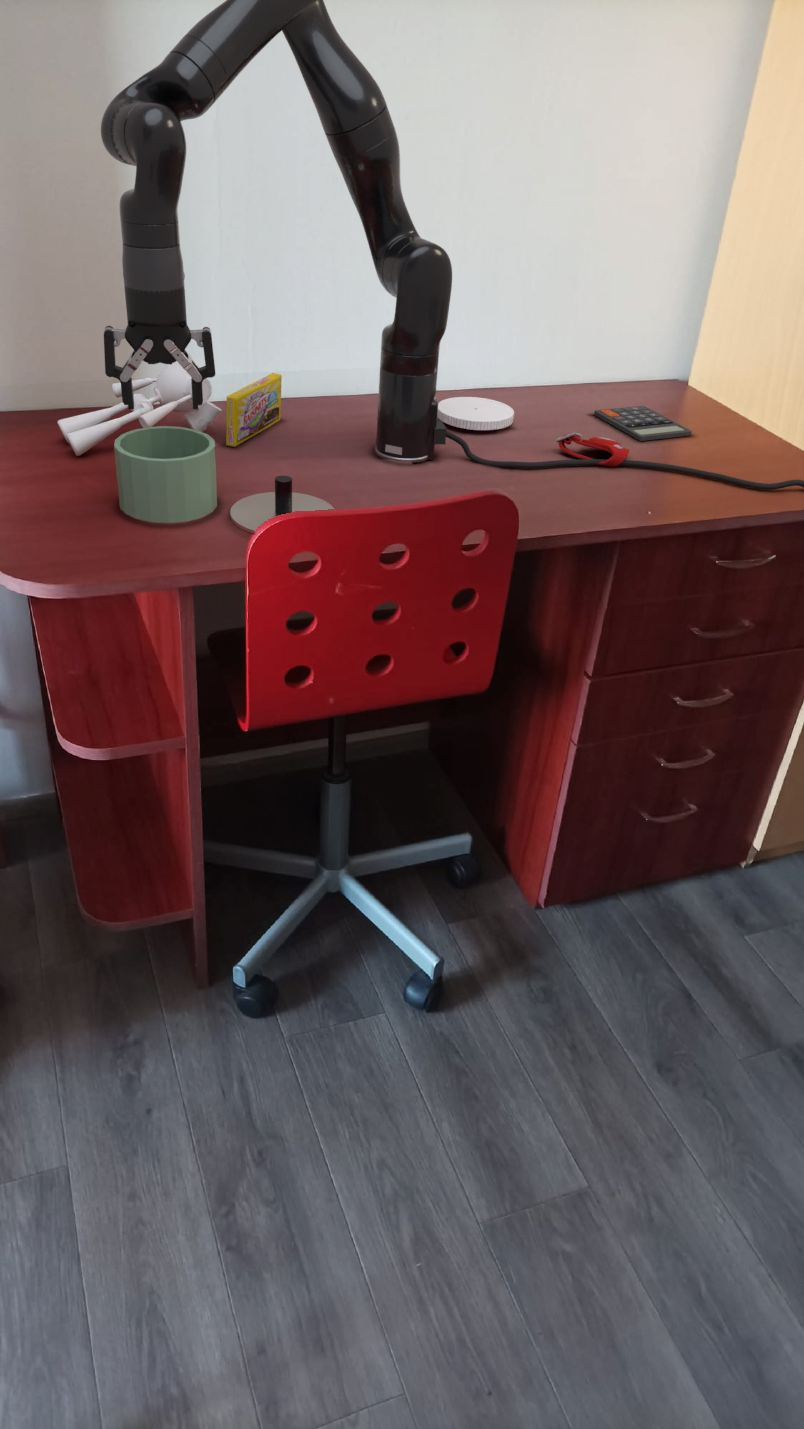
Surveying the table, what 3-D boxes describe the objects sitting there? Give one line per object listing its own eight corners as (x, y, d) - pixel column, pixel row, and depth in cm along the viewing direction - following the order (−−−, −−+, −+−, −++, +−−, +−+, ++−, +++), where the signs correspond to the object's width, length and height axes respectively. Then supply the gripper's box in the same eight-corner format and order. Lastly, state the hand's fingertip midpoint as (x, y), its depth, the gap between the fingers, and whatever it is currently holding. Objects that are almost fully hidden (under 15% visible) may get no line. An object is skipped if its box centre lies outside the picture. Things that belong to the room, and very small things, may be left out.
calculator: (643, 404, 201) (692, 430, 190) (643, 409, 202) (691, 435, 191) (594, 409, 197) (641, 435, 186) (593, 414, 197) (640, 441, 186)
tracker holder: (613, 439, 183) (644, 445, 174) (606, 465, 184) (637, 472, 175) (554, 426, 178) (583, 432, 169) (547, 453, 179) (577, 459, 170)
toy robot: (103, 505, 163) (245, 440, 169) (69, 435, 155) (219, 369, 160) (75, 464, 177) (207, 405, 182) (42, 397, 168) (181, 337, 174)
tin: (215, 488, 156) (213, 426, 151) (218, 526, 145) (216, 460, 140) (122, 488, 154) (116, 425, 148) (118, 527, 143) (111, 461, 137)
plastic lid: (525, 422, 191) (527, 408, 190) (489, 441, 181) (491, 427, 180) (459, 405, 197) (461, 391, 196) (421, 423, 187) (422, 409, 186)
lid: (329, 498, 156) (330, 459, 152) (342, 541, 144) (343, 499, 140) (228, 499, 153) (227, 459, 150) (232, 543, 141) (231, 500, 137)
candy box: (236, 448, 170) (235, 398, 166) (225, 446, 171) (223, 396, 166) (282, 421, 183) (282, 373, 178) (271, 418, 184) (271, 371, 179)
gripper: (94, 287, 128) (108, 417, 137) (211, 289, 130) (217, 416, 140) (98, 273, 134) (111, 399, 143) (210, 276, 136) (216, 398, 146)
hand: (163, 407), depth 141 cm, fingers open, 8 cm apart
